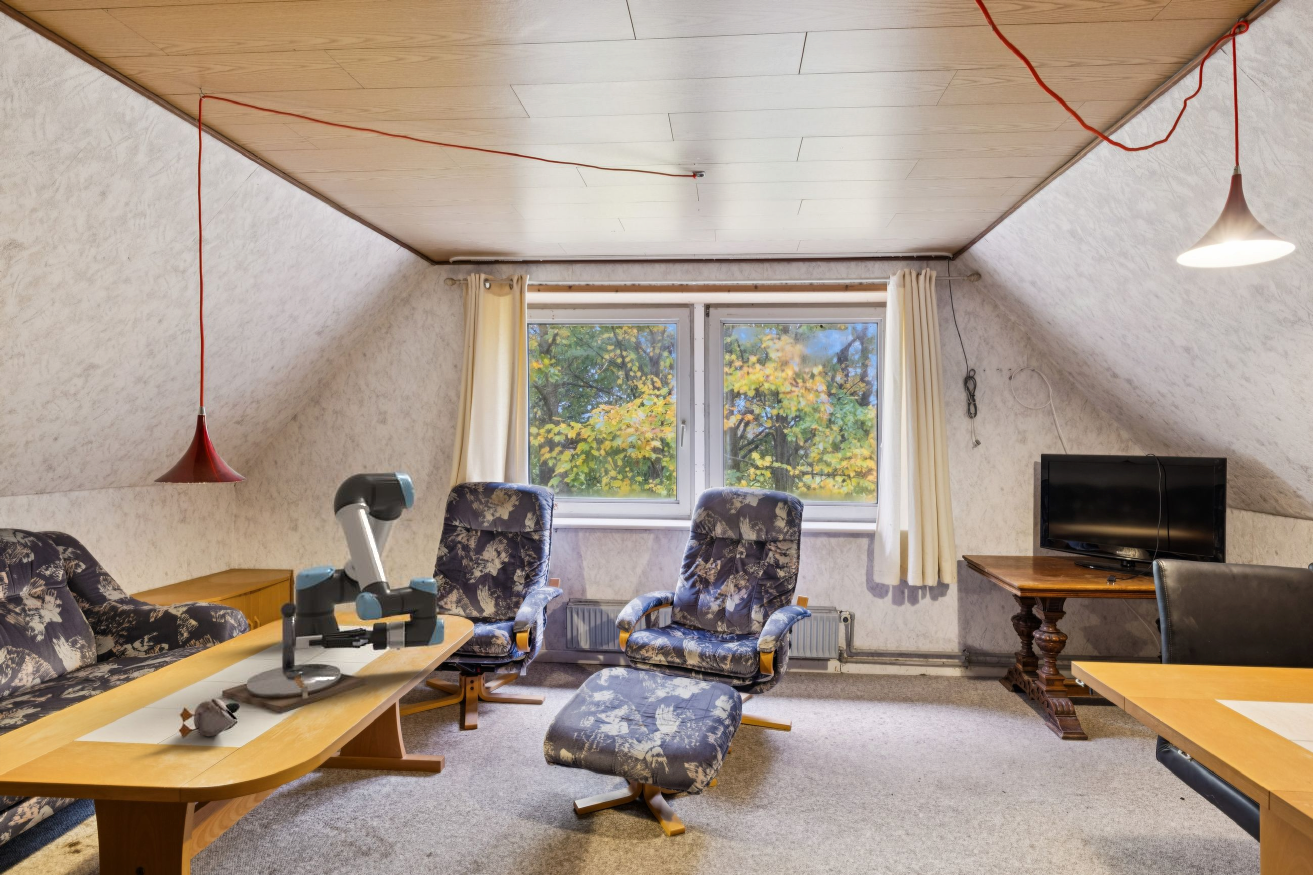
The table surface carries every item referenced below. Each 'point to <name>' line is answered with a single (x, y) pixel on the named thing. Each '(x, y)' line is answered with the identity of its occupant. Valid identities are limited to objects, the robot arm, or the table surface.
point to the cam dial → (292, 668)
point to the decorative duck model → (210, 717)
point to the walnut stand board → (292, 702)
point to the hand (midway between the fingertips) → (296, 642)
